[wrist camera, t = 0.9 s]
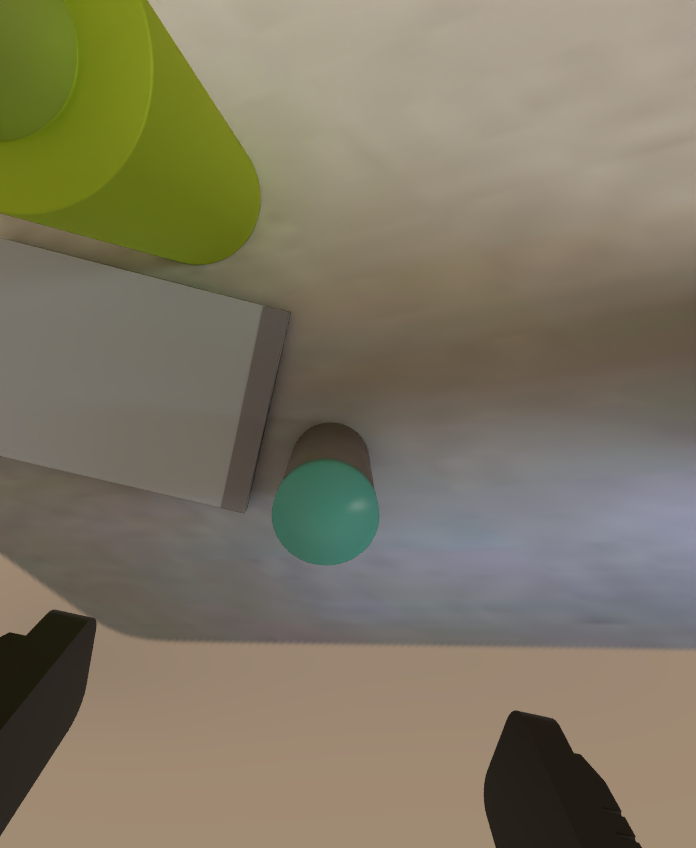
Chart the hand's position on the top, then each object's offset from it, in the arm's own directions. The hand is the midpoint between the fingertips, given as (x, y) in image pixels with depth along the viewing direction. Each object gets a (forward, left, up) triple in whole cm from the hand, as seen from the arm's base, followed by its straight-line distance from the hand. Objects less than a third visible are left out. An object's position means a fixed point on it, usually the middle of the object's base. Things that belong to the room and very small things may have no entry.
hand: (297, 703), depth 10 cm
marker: (0, 0, -16) cm, 16 cm away
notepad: (+10, -1, -16) cm, 19 cm away
